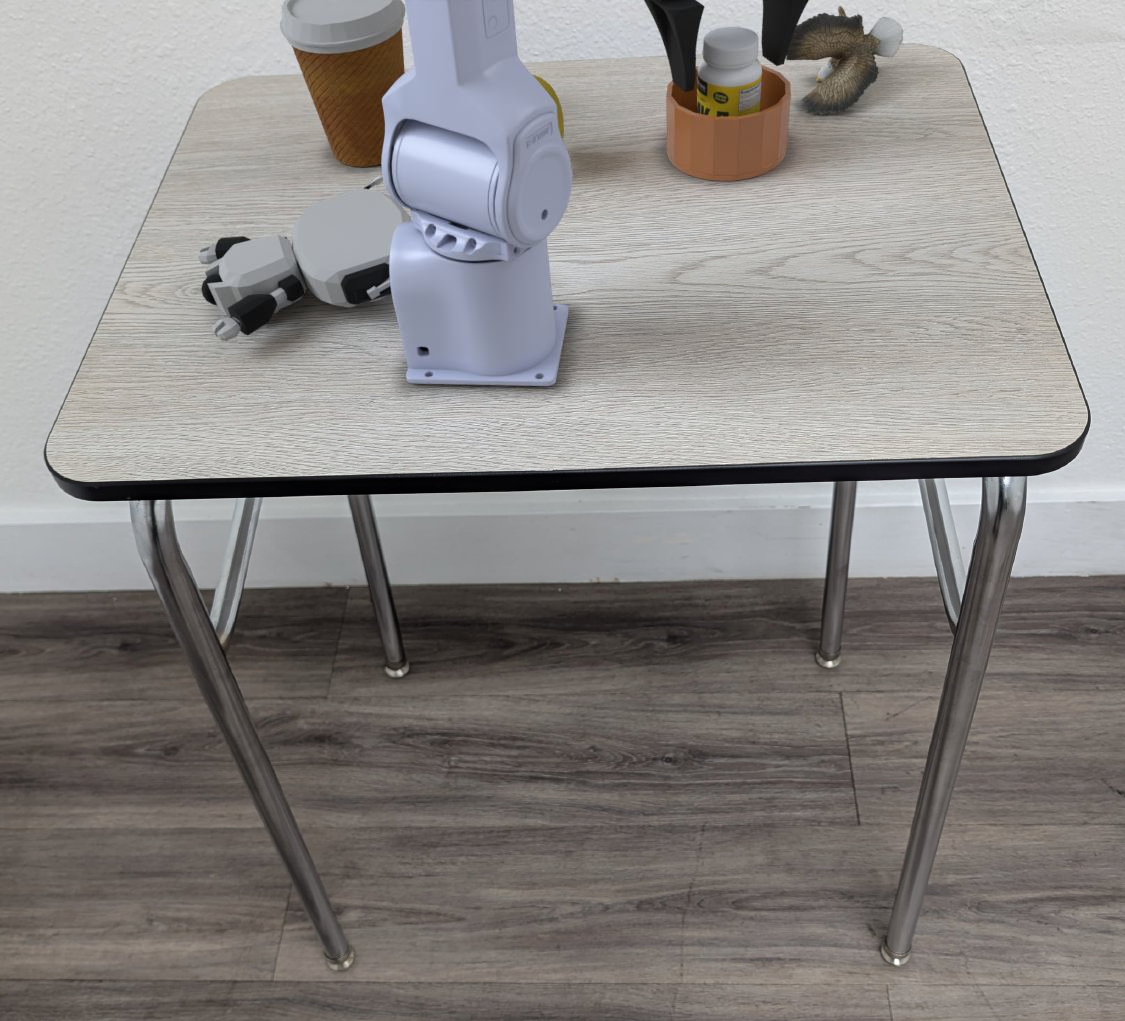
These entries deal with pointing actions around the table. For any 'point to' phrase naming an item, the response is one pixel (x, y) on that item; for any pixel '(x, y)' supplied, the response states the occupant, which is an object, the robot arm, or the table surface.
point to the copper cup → (728, 133)
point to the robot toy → (305, 261)
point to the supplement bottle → (729, 73)
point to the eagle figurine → (842, 56)
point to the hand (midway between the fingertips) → (728, 73)
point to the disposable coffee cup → (348, 68)
